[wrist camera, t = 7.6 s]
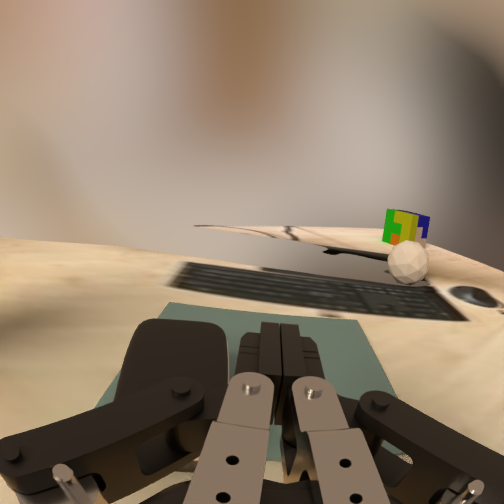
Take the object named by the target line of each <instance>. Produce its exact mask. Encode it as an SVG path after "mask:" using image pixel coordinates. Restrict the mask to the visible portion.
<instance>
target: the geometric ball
mask: <svg viewBox="0 0 504 504" xmlns="http://www.w3.org/2000/svg"><path fill="white" fill-rule="evenodd" d="M388 266H389V273H390V274H391V275H392V276H393V277H394V279H395V280H396V281H397V282H398V283H402V284H406V285H412V284H414V283H417V282H419V281H421V280H423V278H424V276H425V275H426V273H427V271H428V269H429V258H428V253H427V252H426V250H425V249H424V248H423V247H422V246H421V244H420V243H417V242H413V241H408V240H406V241H403V242H401V243H399V244H397V245H395V246H394V247H393V249H392V251H391V253H390V255H389V257H388Z"/></svg>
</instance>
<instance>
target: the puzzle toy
mask: <svg viewBox="0 0 504 504" xmlns="http://www.w3.org/2000/svg"><path fill="white" fill-rule="evenodd" d="M429 221H430V217H428V216H424V215H421V214H417V213H412V212H408V211H403V210H394V209H387V212H386V219H385V226H384V232H383V238H382V241H383V242H386V243H389V244H392V245H397V244H399V243H401V242H403V241H406V240H408V241H413V242H417V243H420V244H421V246H422V247H423V248H424V249H425V244H426V238H427V232H428V227H429Z"/></svg>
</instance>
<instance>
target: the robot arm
mask: <svg viewBox="0 0 504 504" xmlns="http://www.w3.org/2000/svg"><path fill="white" fill-rule="evenodd" d="M318 352H319V351H318V347H317V344H316V343H315V342H314V341H313V340H312V339H311V338H310V337H302V336H300V331H299V325H298V324H286V323H280V327H279V323H274V322H263V321H261V328H260V333H254V332H247V333H245V334H244V335H243V336H242V337H241V340H240V346H239V351H238V357H237V363H236V368H235V374H234V377H232V378H231V380H230V382H229V384H227V385H226V386H223V387H221V388H216V389H205V390H204V388H203V386H202V385H201V384H200V383H199V382H198V381H196V380H194V379H191V378H187V377H173V378H169V379H167V380H164V381H162V382H160V383H158V384H155V385H153V386H150V387H148V388H146V389H143V390H141V391H138V392H136V393H134V394H131V395H129V396H126V397H124V398H121V399H118V400H116V401H113V402H111V403H108V404H105V405H103V406H100V407H97V408H95V409H92V410H89V411H87V412H84V413H81V414H78V415H75V416H72V417H70V418H67V419H64V420H61V421H58V422H55V423H52V424H48V425H45V426H42V427H39V428H36V429H32V430H29V431H26V432H22V433H19V434H15V435H12V436H8V437H5V438H2V439H0V475H1V476H2V477H3V479H4V480H5V481H6V483H7V485H8V486H9V487H10V488H11V490H12V491H13V492H14V493H15V494H16V495H17V498H18V500H19V502H20V504H110V503H113V502H115V501H117V500H119V499H122V498H124V497H126V496H128V495H130V494H132V493H134V492H136V491H138V490H140V489H142V488H144V487H146V486H148V485H150V484H152V483H154V482H156V481H158V480H160V479H161V478H163V477H165V476H167V475H169V474H170V473H172V472H174V471H176V470H178V469H179V468H181V467H183V466H184V465H186V464H188V463H190V462H191V461H193V460H195V459H196V458H198V457H199V456H200V457H199V460H198V463H197V466H196V469H195V471H194V474H193V477H192V480H190V481H185V482H181V483H178V484H175V485H172V486H170V487H168V488H166V489H164V490H162V491H160V492H158V493H157V494H155V495H153V496H152V497H150V498H148V499H146V500H145V501H143V502H141V503H139V504H504V456H503V455H501V454H499V453H497V452H495V451H493V450H491V449H489V448H487V447H485V446H483V445H481V444H479V443H477V442H475V441H473V440H472V439H470V438H468V437H466V436H464V435H462V434H460V433H458V432H457V431H455V430H453V429H451V428H449V427H447V426H445V425H444V424H442V423H440V422H438V421H436V420H435V419H433V418H431V417H429V416H427V415H426V414H424V413H422V412H420V411H419V410H417V409H415V408H413V407H412V406H410V405H408V404H406V403H405V402H403V401H401V400H400V399H398V398H396V397H394V396H393V395H391V394H389V393H387V392H384V391H378V390H374V391H368V392H366V393H364V394H363V395H362V396H361V397H360V399H359V400H356V399H351V398H347V397H343V396H340V395H338V394H336V391H335V389H334V387H333V385H332V384H331V383H330V382H328V381H327V380H325V376H324V372H323V368H322V363H321V359H320V355H319V353H318ZM273 419H274V425H282V433H281V437H280V451H281V459H282V467H283V476H284V484H283V483H278V482H274V481H270V480H266V479H263V477H264V470H265V463H266V456H267V448H268V441H269V432H270V429H269V425H272V424H273ZM384 440H385V441H387V442H388V443H390V444H391V445H393V446H395V447H396V448H398V449H399V450H401V451H402V452H404V453H406V454H407V455H409V456H410V457H411V459H412V461H413V464H409V463H407V462H406V461H404V460H402V459H401V458H399V457H398V456H396V455H395V454H393V453H391V452H390V451H388V450H387V449H385V448H384V447H382V446H381V445H382V443H383V441H384Z"/></svg>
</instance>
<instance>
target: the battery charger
mask: <svg viewBox="0 0 504 504" xmlns="http://www.w3.org/2000/svg"><path fill="white" fill-rule="evenodd" d="M173 377H187V378H191V379H194V380H196V381H198V382H199V383H200V384H201V385H202V386H203V388H204V390H205V389H216V388H221V387H223V386H226V385H227V384H229V353H228V343H227V339H226V335H225V332H224V331H223V329H222V328H221V327H220V326H218V325H216V324H213V323H210V322H202V321H189V320H176V319H148V320H146V321H143V322H142V323H141V324H139V325H138V327H137V329H136V330H135V332H134V334H133V337H132V339H131V341H130V344H129V347H128V349H127V352H126V355H125V358H124V361H123V365H122V368H121V372H120V376H119V380H118V384H117V388H116V392H115V396H114V400H113V401H116V400H118V399H121V398H124V397H126V396H129V395H131V394H134V393H136V392H138V391H141V390H143V389H146V388H148V387H150V386H153V385H155V384H158V383H160V382H162V381H164V380H167V379H169V378H173ZM199 457H200V456H199ZM199 457H198V458H196V459H195V460H193V461H191V462H190V463H188V464H186V465H184V466H183V467H181V468H179V469H178V470H176V471H180V472H194V471H195V469H196V466H197V463H198V460H199Z"/></svg>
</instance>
